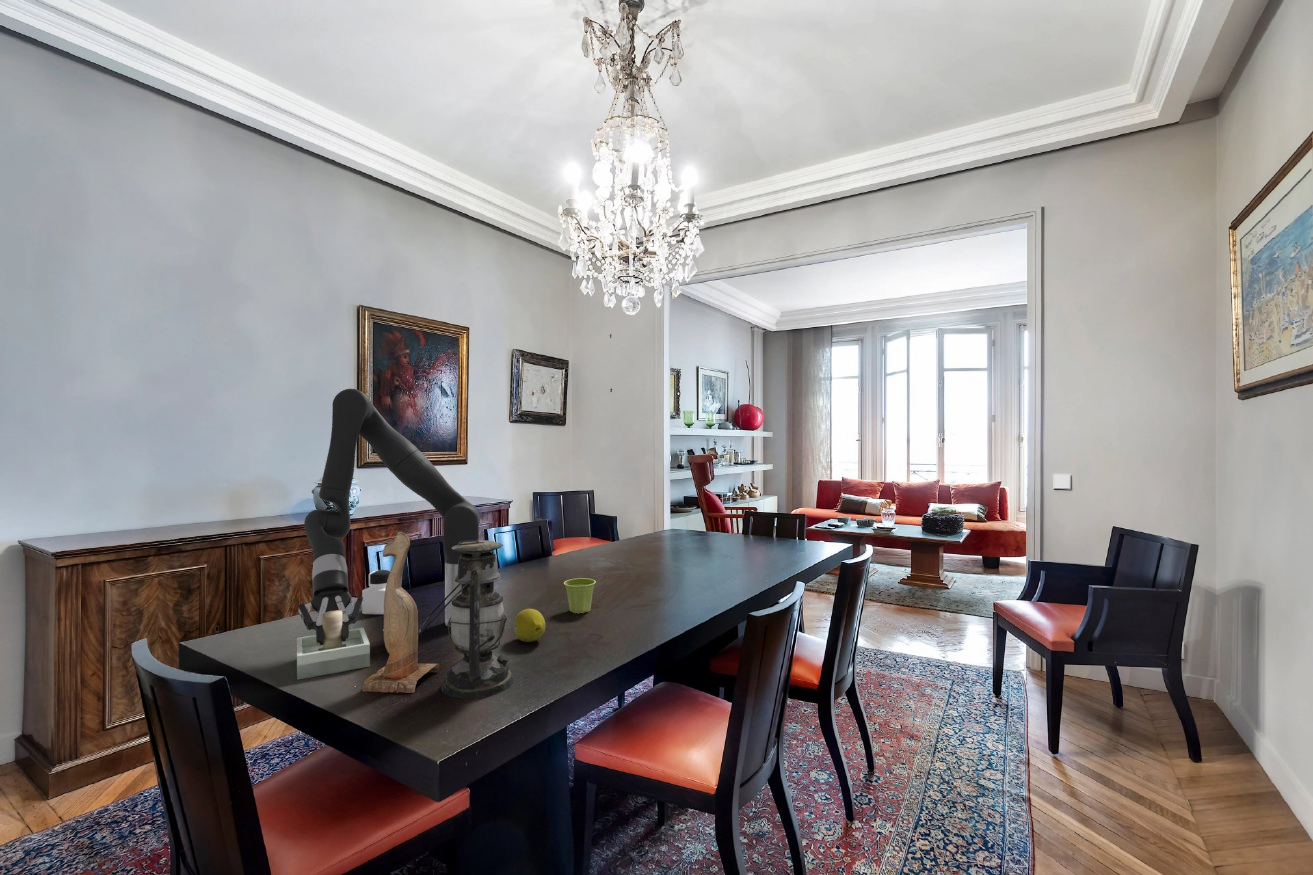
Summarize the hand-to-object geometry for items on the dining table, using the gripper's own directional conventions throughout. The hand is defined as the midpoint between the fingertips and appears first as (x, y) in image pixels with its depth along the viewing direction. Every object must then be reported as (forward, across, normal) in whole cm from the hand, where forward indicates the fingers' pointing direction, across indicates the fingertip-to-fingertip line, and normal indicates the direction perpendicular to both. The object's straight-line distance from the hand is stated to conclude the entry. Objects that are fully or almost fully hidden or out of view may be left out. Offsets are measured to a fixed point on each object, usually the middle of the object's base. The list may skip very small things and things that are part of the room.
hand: (333, 641), depth 134 cm
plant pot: (-2, +65, +11) cm, 66 cm away
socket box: (+3, 0, +5) cm, 6 cm away
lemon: (+10, +43, -2) cm, 44 cm away
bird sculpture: (+17, +12, -9) cm, 22 cm away
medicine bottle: (-25, +14, +34) cm, 45 cm away
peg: (+2, 0, +4) cm, 4 cm away
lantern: (+23, +23, -15) cm, 36 cm away
